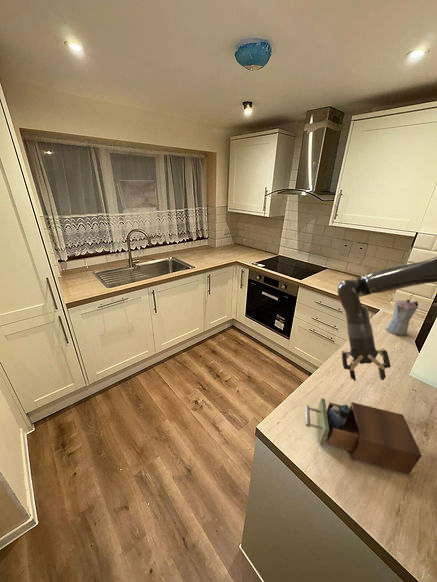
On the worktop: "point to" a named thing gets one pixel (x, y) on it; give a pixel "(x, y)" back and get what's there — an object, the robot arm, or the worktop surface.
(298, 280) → the worktop surface
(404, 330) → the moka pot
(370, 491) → the worktop surface
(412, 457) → the cabinet
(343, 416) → the vaping device
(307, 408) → the drawer
